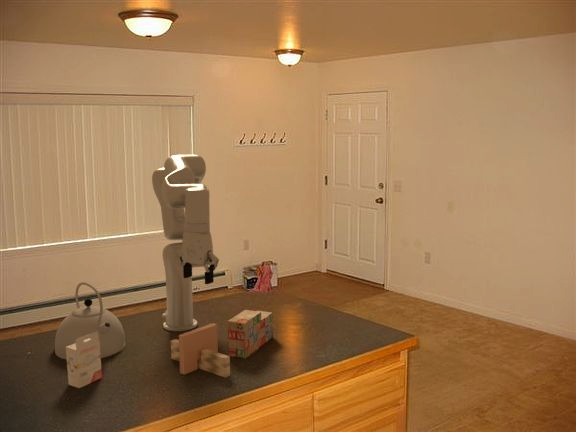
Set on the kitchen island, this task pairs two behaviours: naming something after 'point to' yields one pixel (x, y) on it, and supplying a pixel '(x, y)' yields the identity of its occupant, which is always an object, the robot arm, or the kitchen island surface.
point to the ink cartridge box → (84, 360)
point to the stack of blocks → (248, 332)
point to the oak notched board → (206, 360)
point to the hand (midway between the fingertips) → (198, 280)
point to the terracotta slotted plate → (196, 346)
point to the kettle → (90, 327)
